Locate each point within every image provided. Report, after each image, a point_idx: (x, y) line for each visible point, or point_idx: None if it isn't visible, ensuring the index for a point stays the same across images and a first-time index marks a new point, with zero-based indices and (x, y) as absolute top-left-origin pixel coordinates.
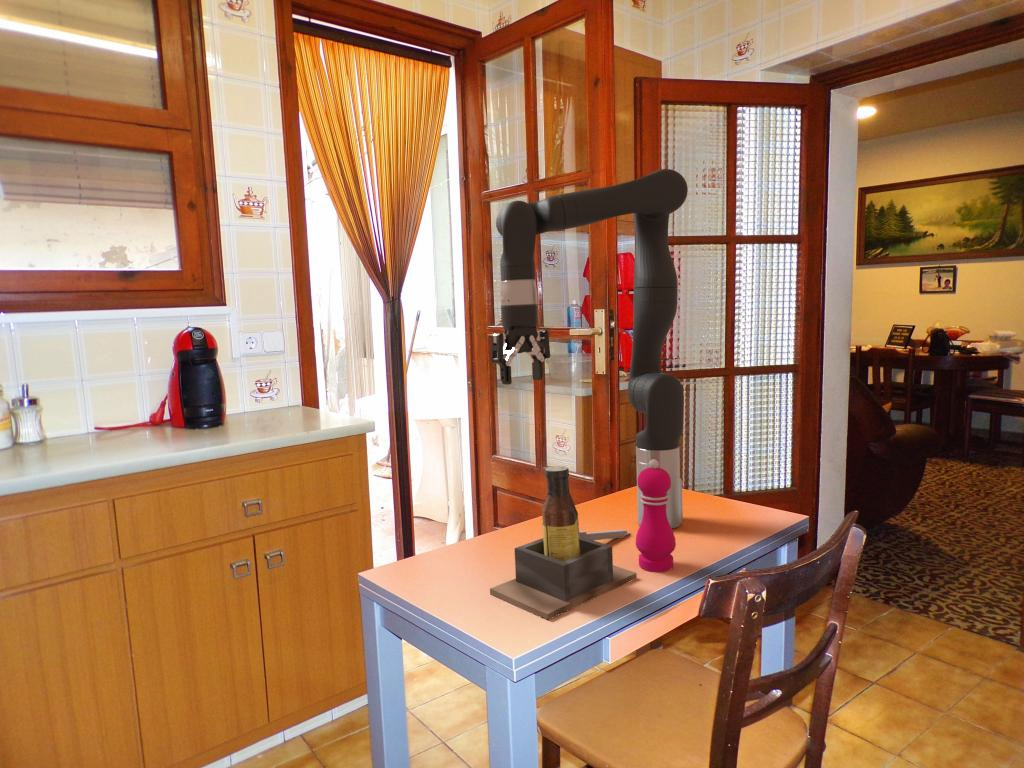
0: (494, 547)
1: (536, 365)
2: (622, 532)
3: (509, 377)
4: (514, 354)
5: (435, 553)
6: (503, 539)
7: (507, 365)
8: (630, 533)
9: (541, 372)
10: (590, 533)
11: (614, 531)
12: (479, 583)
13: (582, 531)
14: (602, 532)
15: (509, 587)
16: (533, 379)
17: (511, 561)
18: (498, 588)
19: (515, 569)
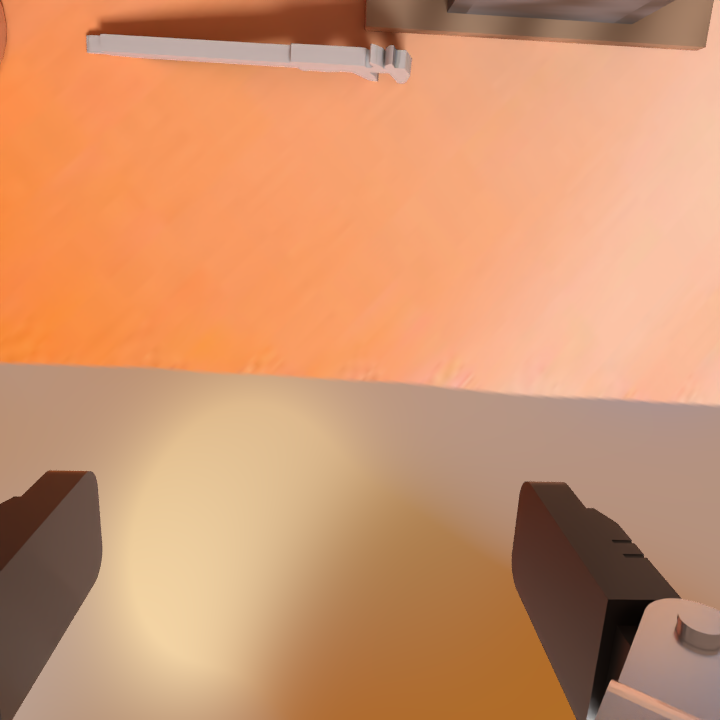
0: (447, 295)
1: (12, 619)
2: (123, 36)
3: (581, 510)
4: (667, 706)
5: (573, 383)
6: (385, 324)
7: (691, 604)
8: (87, 35)
9: (18, 507)
10: (269, 47)
11: (158, 38)
12: (658, 129)
13: (300, 53)
14: (215, 42)
15: (672, 7)
16: (100, 559)
17: (497, 177)
18: (693, 27)
19: (648, 14)
